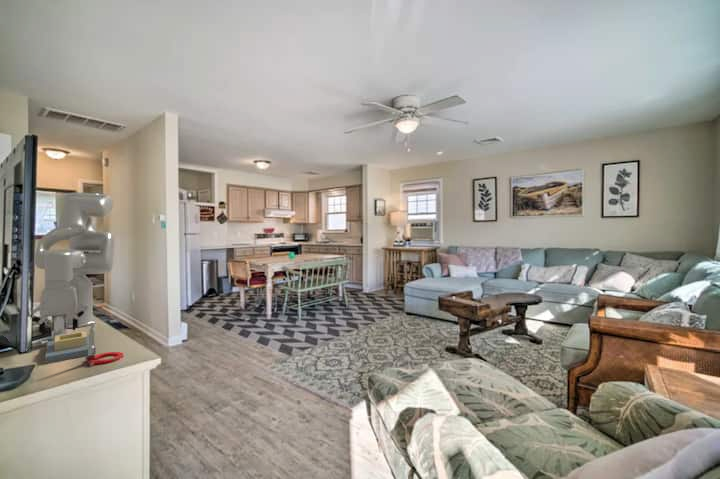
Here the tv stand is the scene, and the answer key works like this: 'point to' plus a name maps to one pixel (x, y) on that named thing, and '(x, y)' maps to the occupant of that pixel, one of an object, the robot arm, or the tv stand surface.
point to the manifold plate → (67, 347)
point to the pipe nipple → (59, 325)
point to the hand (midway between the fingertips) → (59, 331)
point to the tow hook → (93, 359)
